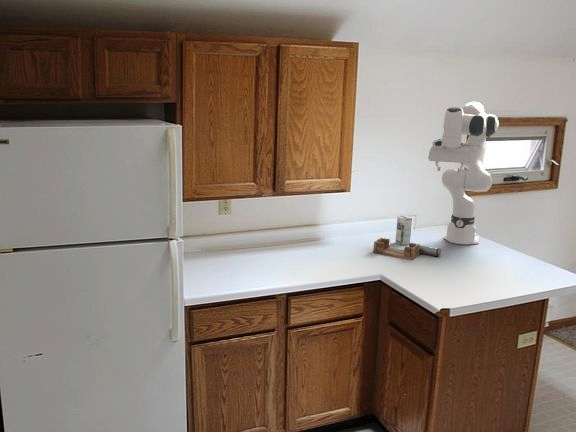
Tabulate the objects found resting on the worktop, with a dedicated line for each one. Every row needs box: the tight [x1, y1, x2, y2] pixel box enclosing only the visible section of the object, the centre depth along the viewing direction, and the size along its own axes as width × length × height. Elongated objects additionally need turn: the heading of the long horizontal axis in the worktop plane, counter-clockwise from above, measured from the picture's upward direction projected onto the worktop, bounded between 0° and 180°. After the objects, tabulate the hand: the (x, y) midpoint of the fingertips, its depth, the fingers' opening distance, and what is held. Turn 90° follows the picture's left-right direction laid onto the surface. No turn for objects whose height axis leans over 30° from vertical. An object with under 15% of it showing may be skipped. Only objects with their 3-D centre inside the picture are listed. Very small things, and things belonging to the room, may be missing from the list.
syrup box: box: [395, 215, 413, 246], centre depth 305 cm, size 6×6×14 cm
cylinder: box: [419, 244, 442, 257], centre depth 289 cm, size 4×14×4 cm, turn 60°
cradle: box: [372, 237, 421, 261], centre depth 288 cm, size 10×20×6 cm, turn 60°
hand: (448, 171), depth 278 cm, fingers open, 8 cm apart
